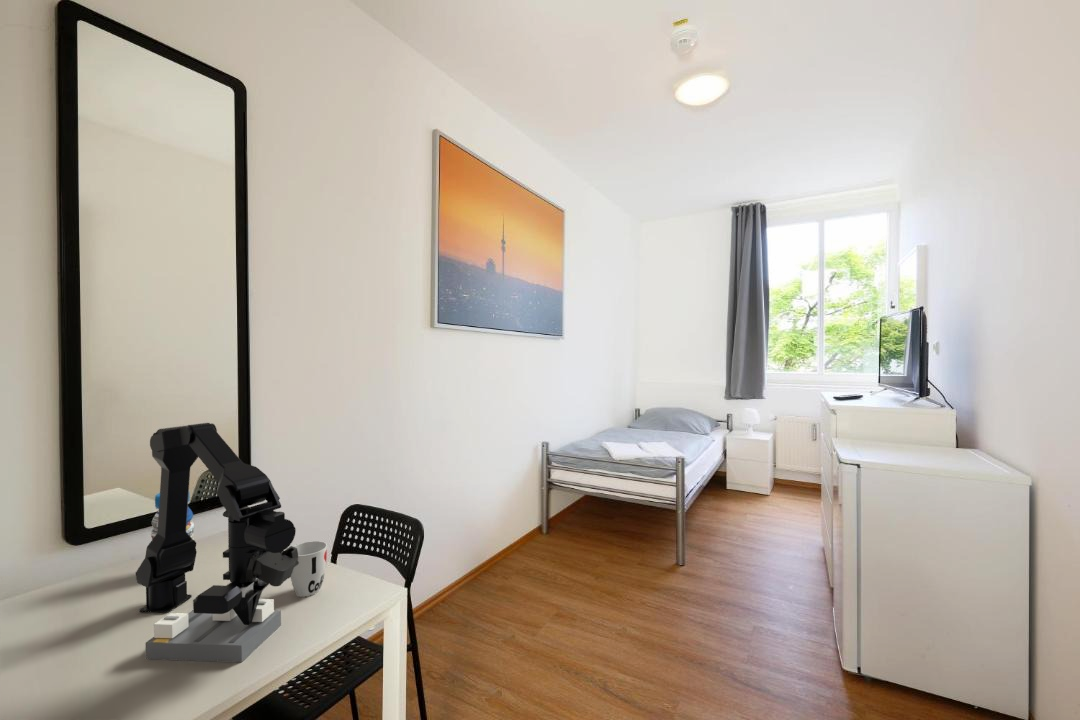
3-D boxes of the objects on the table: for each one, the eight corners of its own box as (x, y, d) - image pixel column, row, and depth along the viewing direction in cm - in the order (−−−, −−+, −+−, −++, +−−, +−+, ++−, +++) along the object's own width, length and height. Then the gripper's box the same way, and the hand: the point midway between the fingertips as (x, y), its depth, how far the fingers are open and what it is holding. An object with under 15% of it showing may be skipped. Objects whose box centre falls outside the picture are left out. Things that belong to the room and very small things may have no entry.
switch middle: (212, 620, 87) (212, 606, 87) (226, 610, 90) (226, 596, 90) (229, 620, 87) (229, 606, 87) (242, 610, 90) (242, 596, 90)
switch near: (154, 637, 82) (153, 622, 82) (170, 626, 85) (170, 611, 85) (172, 638, 81) (172, 623, 81) (188, 626, 85) (188, 611, 85)
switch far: (244, 621, 86) (244, 607, 86) (257, 611, 90) (256, 597, 90) (262, 622, 86) (261, 607, 86) (273, 611, 90) (273, 597, 90)
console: (145, 659, 81) (145, 641, 81) (196, 622, 92) (195, 607, 92) (241, 662, 80) (241, 644, 80) (281, 625, 91) (280, 609, 91)
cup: (311, 602, 99) (310, 557, 99) (279, 598, 101) (279, 554, 101) (335, 583, 107) (334, 542, 107) (305, 580, 109) (304, 539, 109)
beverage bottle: (158, 567, 116) (157, 490, 116) (198, 560, 120) (197, 486, 120) (146, 582, 109) (144, 499, 108) (189, 574, 112) (188, 494, 112)
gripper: (253, 566, 75) (254, 658, 75) (315, 523, 94) (316, 598, 94) (189, 564, 76) (191, 656, 76) (264, 522, 94) (265, 596, 94)
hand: (247, 623), depth 85 cm, fingers closed
